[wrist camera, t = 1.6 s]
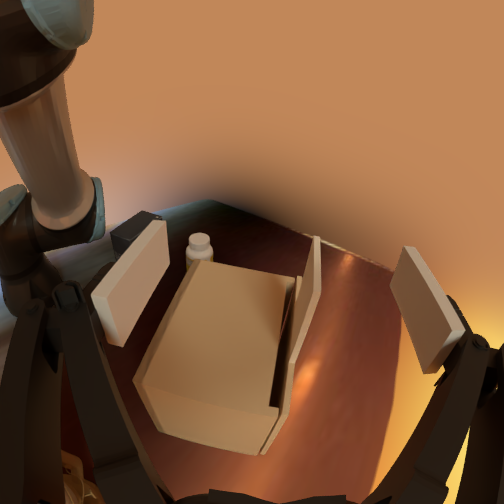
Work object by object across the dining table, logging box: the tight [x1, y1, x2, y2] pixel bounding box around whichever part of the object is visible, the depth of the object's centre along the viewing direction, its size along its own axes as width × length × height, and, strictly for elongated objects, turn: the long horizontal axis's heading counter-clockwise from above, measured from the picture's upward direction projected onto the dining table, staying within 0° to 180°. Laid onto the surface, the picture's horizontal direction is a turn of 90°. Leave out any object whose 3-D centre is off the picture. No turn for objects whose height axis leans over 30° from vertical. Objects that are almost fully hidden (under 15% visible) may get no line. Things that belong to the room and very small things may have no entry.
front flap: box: [260, 236, 321, 455], centre depth 33 cm, size 1×20×26 cm, turn 169°
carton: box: [132, 259, 295, 456], centre depth 36 cm, size 14×20×16 cm
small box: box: [110, 211, 162, 262], centre depth 59 cm, size 11×6×10 cm, turn 156°
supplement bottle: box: [186, 233, 213, 272], centre depth 58 cm, size 5×5×10 cm
